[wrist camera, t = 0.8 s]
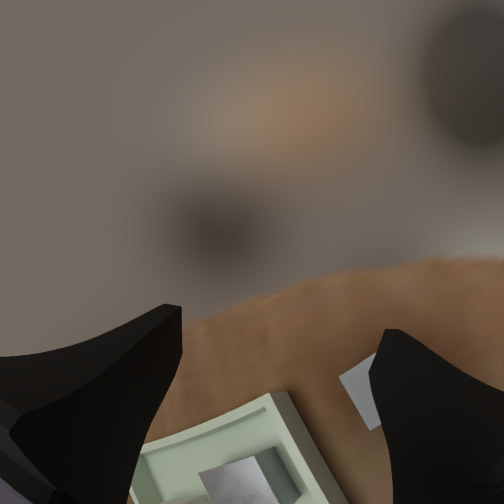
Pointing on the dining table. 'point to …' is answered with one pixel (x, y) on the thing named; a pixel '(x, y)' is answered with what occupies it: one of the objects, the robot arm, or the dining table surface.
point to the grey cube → (362, 391)
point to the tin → (251, 481)
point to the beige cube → (189, 500)
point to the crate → (235, 453)
